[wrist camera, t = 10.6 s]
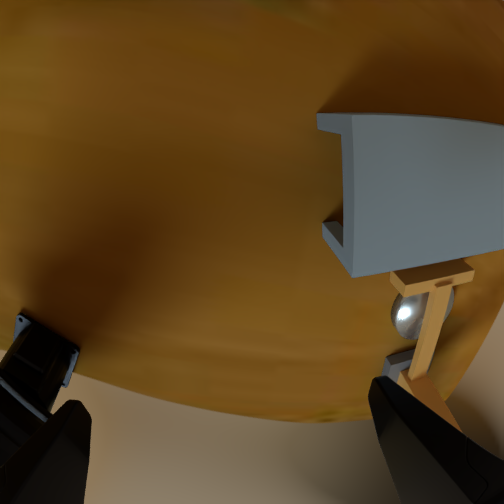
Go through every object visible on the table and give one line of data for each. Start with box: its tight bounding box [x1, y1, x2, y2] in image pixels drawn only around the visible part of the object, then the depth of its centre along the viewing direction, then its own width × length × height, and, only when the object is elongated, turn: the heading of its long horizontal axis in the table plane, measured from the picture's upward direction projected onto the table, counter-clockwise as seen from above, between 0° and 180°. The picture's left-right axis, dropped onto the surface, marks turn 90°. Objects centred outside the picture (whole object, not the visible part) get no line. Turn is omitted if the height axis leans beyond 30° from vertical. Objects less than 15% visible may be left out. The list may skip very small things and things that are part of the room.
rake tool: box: [381, 258, 475, 432], centre depth 20 cm, size 14×7×13 cm, turn 6°
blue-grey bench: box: [317, 113, 504, 278], centre depth 17 cm, size 8×18×6 cm, turn 96°
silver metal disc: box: [391, 288, 454, 339], centre depth 24 cm, size 6×6×1 cm
